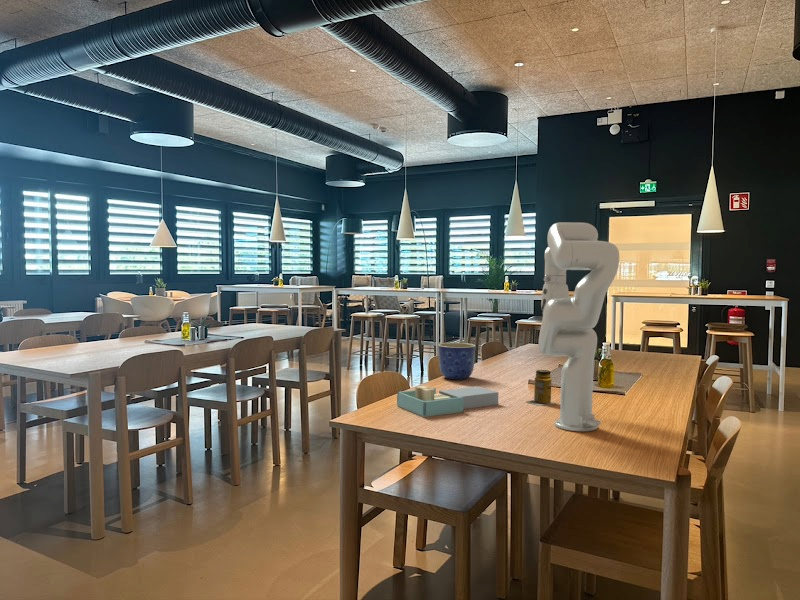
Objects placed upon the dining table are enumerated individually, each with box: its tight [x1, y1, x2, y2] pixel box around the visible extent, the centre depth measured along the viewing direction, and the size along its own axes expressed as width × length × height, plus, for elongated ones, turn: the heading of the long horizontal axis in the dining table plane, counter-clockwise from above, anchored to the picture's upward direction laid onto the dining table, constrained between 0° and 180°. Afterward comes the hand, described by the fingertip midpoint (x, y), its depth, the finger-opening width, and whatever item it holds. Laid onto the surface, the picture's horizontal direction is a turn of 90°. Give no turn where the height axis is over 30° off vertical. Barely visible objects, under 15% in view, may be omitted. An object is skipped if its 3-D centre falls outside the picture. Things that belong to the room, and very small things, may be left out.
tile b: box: [414, 385, 434, 401], centre depth 197 cm, size 7×7×4 cm
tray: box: [396, 387, 464, 418], centre depth 198 cm, size 18×16×5 cm
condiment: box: [525, 369, 555, 406], centre depth 210 cm, size 7×8×12 cm
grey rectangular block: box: [438, 386, 499, 410], centre depth 207 cm, size 12×18×4 cm, turn 120°
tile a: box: [434, 393, 451, 400], centre depth 200 cm, size 7×7×4 cm
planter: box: [437, 342, 476, 381], centre depth 258 cm, size 17×17×15 cm
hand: (554, 330), depth 206 cm, fingers closed
